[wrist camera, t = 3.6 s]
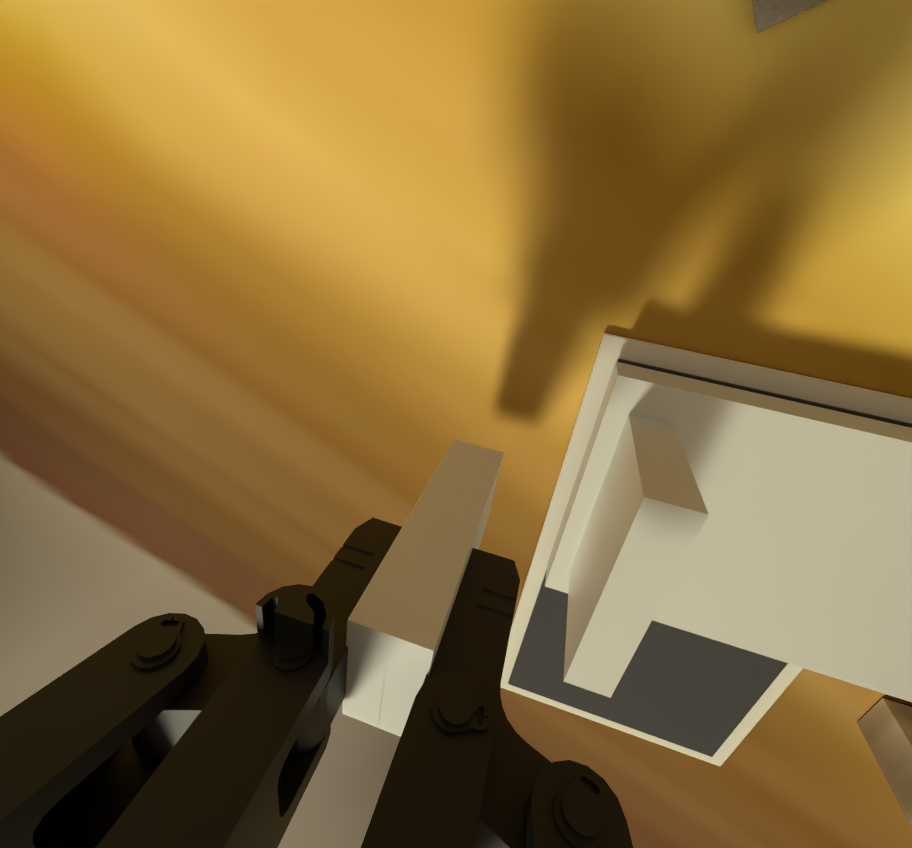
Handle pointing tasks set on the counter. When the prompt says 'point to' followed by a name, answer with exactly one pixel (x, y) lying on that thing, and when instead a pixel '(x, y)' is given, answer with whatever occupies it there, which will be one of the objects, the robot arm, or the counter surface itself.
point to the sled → (738, 532)
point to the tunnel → (892, 747)
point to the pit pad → (662, 647)
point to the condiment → (778, 11)
